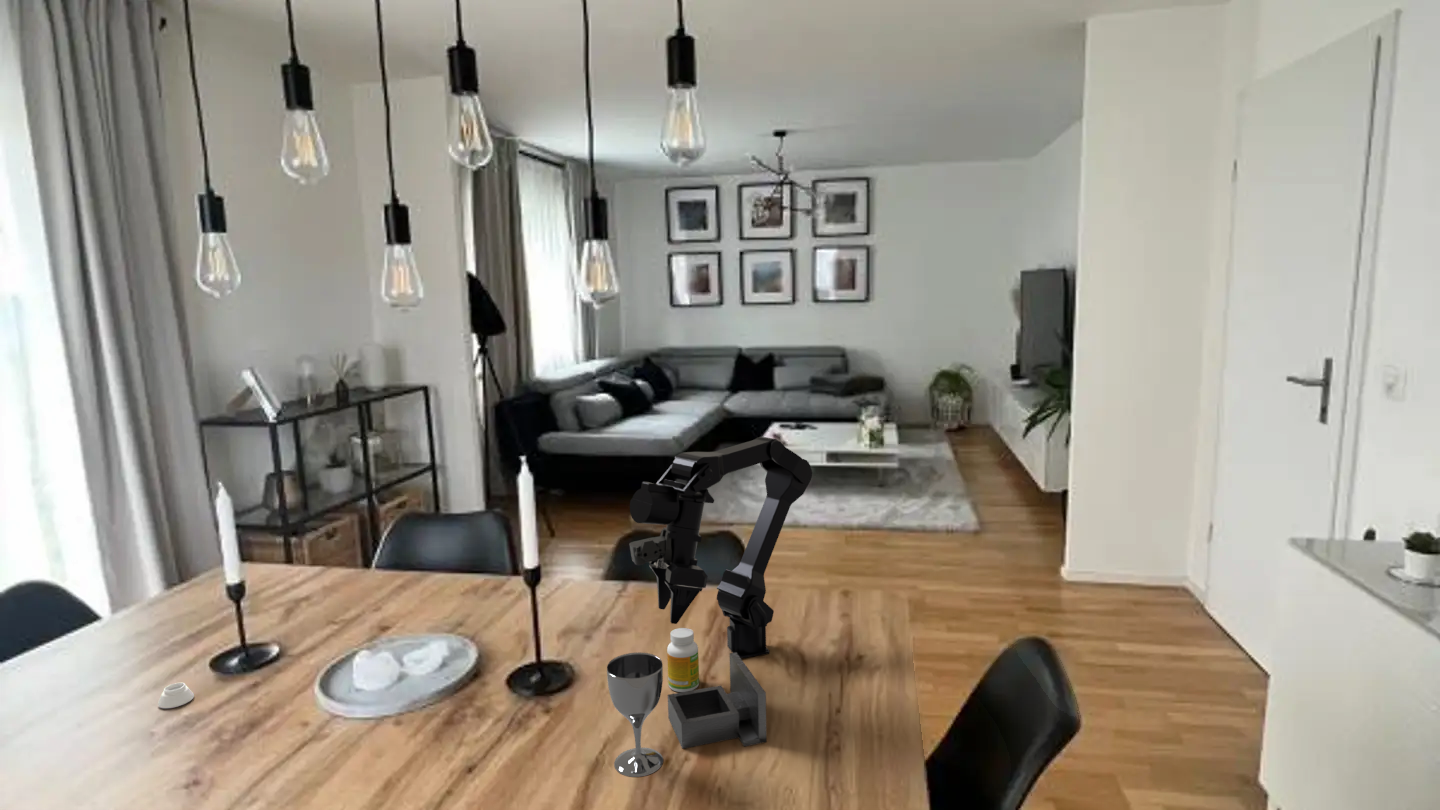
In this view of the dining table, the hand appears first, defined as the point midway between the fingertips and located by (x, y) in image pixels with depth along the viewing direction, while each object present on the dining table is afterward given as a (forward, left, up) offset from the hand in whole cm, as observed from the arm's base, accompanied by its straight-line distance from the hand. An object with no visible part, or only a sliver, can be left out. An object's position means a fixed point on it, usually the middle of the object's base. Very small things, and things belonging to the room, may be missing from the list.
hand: (667, 616), depth 133 cm
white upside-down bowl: (+82, -23, -13) cm, 86 cm away
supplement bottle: (-2, +1, -13) cm, 13 cm away
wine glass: (+10, +20, -13) cm, 26 cm away
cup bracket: (-4, +15, -13) cm, 20 cm away
